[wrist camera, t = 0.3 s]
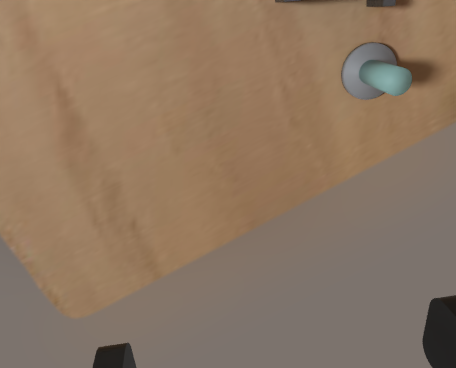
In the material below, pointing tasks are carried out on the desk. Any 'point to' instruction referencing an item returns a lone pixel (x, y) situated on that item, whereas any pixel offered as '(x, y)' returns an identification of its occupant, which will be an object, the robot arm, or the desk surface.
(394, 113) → the desk surface
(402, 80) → the teal flanged peg
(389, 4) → the bent rail
